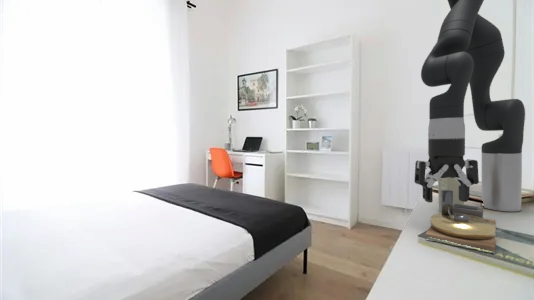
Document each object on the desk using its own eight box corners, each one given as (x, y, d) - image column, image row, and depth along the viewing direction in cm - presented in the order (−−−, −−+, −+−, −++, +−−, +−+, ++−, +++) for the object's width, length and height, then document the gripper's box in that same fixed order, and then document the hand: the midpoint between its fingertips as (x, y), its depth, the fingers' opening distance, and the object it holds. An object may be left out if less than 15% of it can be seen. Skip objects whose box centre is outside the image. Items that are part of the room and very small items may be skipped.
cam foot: (420, 221, 67) (419, 190, 66) (467, 219, 67) (467, 188, 66) (452, 240, 55) (452, 202, 54) (511, 238, 54) (511, 200, 54)
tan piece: (439, 217, 74) (439, 201, 74) (495, 225, 66) (495, 207, 66) (425, 240, 59) (425, 220, 59) (495, 254, 51) (495, 231, 51)
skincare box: (464, 217, 74) (464, 174, 73) (447, 216, 75) (447, 174, 74) (453, 210, 80) (453, 171, 79) (437, 210, 81) (437, 171, 80)
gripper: (425, 137, 61) (425, 206, 62) (487, 136, 60) (487, 204, 61) (409, 137, 68) (409, 198, 69) (464, 136, 68) (463, 197, 69)
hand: (445, 201), depth 65 cm, fingers open, 8 cm apart
